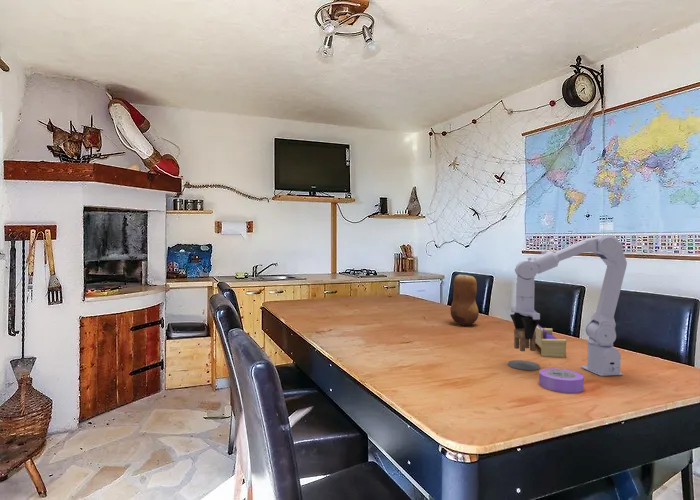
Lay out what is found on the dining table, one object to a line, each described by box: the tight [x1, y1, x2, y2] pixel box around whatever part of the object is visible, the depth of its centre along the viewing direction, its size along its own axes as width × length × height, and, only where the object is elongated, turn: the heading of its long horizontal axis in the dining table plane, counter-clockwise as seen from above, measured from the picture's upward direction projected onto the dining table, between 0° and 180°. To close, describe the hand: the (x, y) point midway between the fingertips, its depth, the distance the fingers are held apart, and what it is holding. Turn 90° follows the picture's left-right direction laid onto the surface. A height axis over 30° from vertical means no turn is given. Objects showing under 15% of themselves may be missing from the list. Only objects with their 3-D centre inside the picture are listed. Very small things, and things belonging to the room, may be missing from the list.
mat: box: [507, 359, 541, 372], centre depth 149 cm, size 10×10×1 cm
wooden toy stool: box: [513, 328, 536, 352], centre depth 148 cm, size 5×5×6 cm
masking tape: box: [538, 367, 585, 394], centre depth 129 cm, size 12×12×4 cm
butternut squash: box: [450, 274, 480, 327], centre depth 219 cm, size 14×13×25 cm
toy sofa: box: [535, 324, 568, 358], centre depth 170 cm, size 21×9×10 cm, turn 169°
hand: (524, 337), depth 148 cm, fingers closed on wooden toy stool, 5 cm apart
